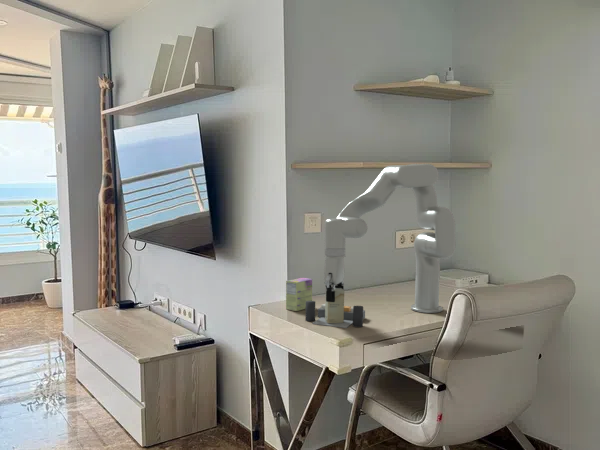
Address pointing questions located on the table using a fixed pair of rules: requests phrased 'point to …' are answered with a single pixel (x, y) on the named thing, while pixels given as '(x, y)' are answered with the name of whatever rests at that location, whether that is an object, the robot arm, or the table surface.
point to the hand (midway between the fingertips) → (335, 298)
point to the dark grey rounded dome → (310, 311)
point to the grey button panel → (347, 322)
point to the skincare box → (335, 308)
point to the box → (298, 293)
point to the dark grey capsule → (357, 316)
